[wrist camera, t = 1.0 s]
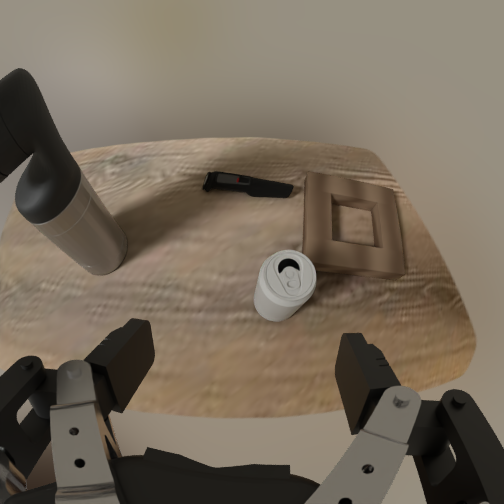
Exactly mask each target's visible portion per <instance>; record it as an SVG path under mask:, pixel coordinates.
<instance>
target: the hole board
mask: <svg viewBox="0 0 504 504" xmlns="http://www.w3.org/2000/svg"><path fill="white" fill-rule="evenodd" d="M331 204H335V205H341V206H346V207H352V208H357V209H362V210H367V211H371V214H372V223H373V233H374V245H375V247H371V246H365V245H358V244H352V243H345V242H339V241H332V213H331ZM302 254H304V255H305V256H306V257H308V258H309V259H310V261H311V262H312V264H313V265H314V268H315V271H323V272H331V273H339V274H348V275H356V276H364V277H373V278H381V279H389V280H397V279H399V278H400V277H402V276H403V275H405V267H404V257H403V248H402V240H401V233H400V226H399V220H398V213H397V208H396V202H395V197H394V192H393V189H390V188H386V187H382V186H377V185H373V184H369V183H364V182H360V181H355V180H351V179H346V178H341V177H336V176H331V175H325V174H320V173H314V172H309V171H308V173H307V176H306V179H305V182H304V222H303V247H302Z"/></svg>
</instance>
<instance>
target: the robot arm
mask: <svg viewBox="0 0 504 504" xmlns="http://www.w3.org/2000/svg"><path fill="white" fill-rule="evenodd" d="M32 154H33V156H32V158H31V160H30V162H29V164H28V166H27V167H26V169H25V171H24V172H23V174H22V176H21V178H20V180H19V182H18V185H17V189H16V193H15V202H16V206H17V208H18V211H19V212H20V213H21V214H22V215H23V216H24V217H25V218H26V219H27V220H28V221H29V222H30V223H31V224H32V225H33V226H35V227H36V228H37V229H38V230H39V231H40V232H41V233H42V234H44V235H45V236H46V237H47V238H48V239H49V240H50V241H51V242H53V243H54V244H55V245H56V246H57V247H59V248H60V249H61V250H62V251H63V252H64V253H66V254H67V255H68V256H69V257H71V258H72V259H73V260H74V261H76V262H77V263H78V264H79V265H80V266H82V267H83V268H84V269H86V270H87V271H88V272H90V273H91V274H94V275H105V274H108V273H110V272H112V271H114V270H115V269H116V268H117V267H118V266H119V265H120V264H121V263H122V261H123V259H124V257H125V255H126V251H127V239H126V236H125V234H124V232H123V231H122V230H121V228H120V227H119V225H118V224H117V223H116V221H115V220H114V218H113V217H112V215H111V214H110V213H109V211H108V210H107V208H106V207H105V205H104V204H103V203H102V201H101V200H100V198H99V197H98V195H97V194H96V192H95V191H94V189H93V188H92V186H91V185H90V183H89V181H88V180H87V179H86V177H85V175H84V174H83V172H82V171H81V169H80V167H79V166H78V164H77V163H76V161H75V160H74V158H73V157H72V155H71V154H70V152H69V151H68V149H67V147H66V145H65V144H64V142H63V140H62V138H61V137H60V135H59V133H58V130H57V128H56V126H55V124H54V122H53V119H52V117H51V115H50V113H49V110H48V108H47V106H46V103H45V101H44V99H43V96H42V94H41V92H40V90H39V87H38V86H37V84H36V82H35V80H34V78H33V77H32V76H31V74H30V73H29V72H27V71H26V70H25V69H21V68H18V69H16V70H14V71H12V72H10V73H9V74H8V75H6V76H5V77H4V78H2V79H1V80H0V183H1V182H2V181H3V180H4V179H5V178H6V177H8V175H9V174H11V173H12V172H13V171H14V170H15V169H16V168H17V167H18V166H19V165H20V164H21V163H22V162H24V161H25V160H26V159H27V158H28V157H29V156H30V155H32ZM154 357H155V350H154V344H153V338H152V331H151V325H150V322H149V321H147V320H141V319H134V318H132V319H130V320H129V321H128V322H127V323H126V324H125V325H124V326H123V327H120V328H118V329H116V330H114V331H112V332H111V333H110V334H109V335H108V336H107V337H106V338H105V340H103V341H102V342H101V343H100V345H98V346H97V347H96V348H95V349H94V350H93V351H92V352H91V353H90V354H89V355H88V356H87V357H86V358H85V359H84V360H71V361H67V362H65V363H63V364H62V365H61V366H60V367H59V368H58V370H55V369H45V368H44V366H43V363H42V361H41V359H40V358H39V357H37V356H25V357H23V358H21V359H19V360H18V361H16V362H15V363H14V364H13V365H12V366H11V367H10V368H9V369H8V370H7V371H6V372H5V373H4V374H3V375H1V376H0V504H381V503H382V501H383V499H384V497H385V495H386V494H387V492H388V490H389V488H390V486H391V484H392V482H393V480H394V478H395V476H396V474H397V472H398V470H399V468H400V465H401V463H402V461H403V459H404V457H405V455H412V456H413V458H414V462H415V465H416V468H417V471H418V474H419V478H420V481H421V484H422V488H423V491H424V495H425V498H426V502H427V504H504V449H503V447H502V445H501V443H500V441H499V440H498V438H497V436H496V435H495V433H494V431H493V430H492V428H491V426H490V425H489V423H488V422H487V420H486V418H485V417H484V415H483V413H482V412H481V411H480V409H479V407H478V406H477V404H476V403H475V401H474V400H473V398H472V397H471V396H470V395H469V394H468V393H466V392H464V391H462V390H456V389H453V390H448V391H446V392H445V393H444V394H443V396H442V398H441V400H440V401H429V400H428V401H427V400H421V398H420V396H419V394H418V393H417V392H416V391H414V390H413V389H411V388H409V387H405V386H401V384H400V382H399V381H398V379H397V377H396V375H395V374H394V372H393V370H392V368H391V367H390V366H389V363H388V362H387V360H385V357H384V355H383V353H382V351H381V350H380V349H378V348H377V347H376V346H374V345H373V344H367V342H366V340H365V338H364V337H363V335H362V333H343V335H342V337H341V341H340V346H339V351H338V355H337V360H336V365H335V377H336V381H337V385H338V388H339V391H340V395H341V398H342V402H343V405H344V409H345V413H346V416H347V420H348V424H349V427H350V431H351V435H354V434H358V435H357V436H356V438H355V439H354V441H353V442H352V444H351V445H350V447H349V448H348V450H347V451H346V452H345V454H344V456H343V457H342V458H341V459H340V461H339V462H338V463H337V465H336V466H335V467H334V469H333V470H332V471H331V473H330V474H329V475H328V476H327V478H326V479H325V480H324V481H323V483H322V484H321V485H320V484H318V483H316V482H314V481H312V480H310V479H307V478H304V477H301V476H297V475H293V474H290V465H260V464H259V465H258V464H251V465H243V466H233V467H221V468H214V467H210V466H207V465H205V464H202V463H199V462H197V461H194V460H191V459H189V458H187V457H184V456H182V455H179V454H174V453H170V452H165V451H161V450H157V449H153V448H149V447H147V449H146V451H145V454H144V455H132V456H124V457H123V456H122V454H121V451H120V449H119V445H118V442H117V439H116V437H115V433H114V429H113V426H112V422H111V419H110V417H109V413H110V412H111V410H113V411H116V412H119V413H123V411H124V410H125V408H126V406H127V405H128V403H129V402H130V400H131V398H132V397H133V395H134V393H135V392H136V390H137V389H138V387H139V385H140V384H141V382H142V380H143V379H144V377H145V376H146V374H147V372H148V371H149V369H150V368H151V366H152V364H153V362H154ZM27 399H28V400H29V401H30V403H31V405H32V407H33V408H32V410H31V411H30V412H29V413H28V415H27V416H26V417H25V418H24V420H23V421H22V422H21V423H20V425H19V423H18V421H17V411H18V410H19V409H20V407H21V406H22V405H23V404H24V403H25V401H26V400H27ZM50 441H51V442H52V452H53V462H54V469H55V475H56V482H54V483H51V484H48V485H45V486H41V487H38V488H34V489H31V490H27V489H26V479H27V478H28V476H29V475H30V473H31V471H32V470H33V468H34V466H35V465H36V463H37V461H38V460H39V458H40V457H41V455H42V453H43V452H44V450H45V449H46V447H47V446H48V444H49V443H50ZM450 444H451V446H452V448H453V450H454V452H455V455H456V461H455V459H454V456H453V454H452V452H451V450H450V447H449V445H450Z"/></svg>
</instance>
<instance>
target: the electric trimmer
mask: <svg viewBox="0 0 504 504" xmlns="http://www.w3.org/2000/svg"><path fill="white" fill-rule="evenodd" d="M207 183H208V184H207ZM293 187H294V186H293V185H290V184H285V183H280V182H275V181H269V180H264V179H258V178H253V177H249V176H244V175H238V174H232V173H225V172H217V171H215V172H208V173H207V175H206V178H205V182H204V185H203V188H202V189H203V190H205V191H209V190H210V189H221V190H230V191H239V192H246V193H247V194H248V195H250V196H253V197H277V198H287V197H288V196H289V195H290V194H291V192H292V190H293Z"/></svg>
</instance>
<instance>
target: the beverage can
mask: <svg viewBox="0 0 504 504" xmlns="http://www.w3.org/2000/svg"><path fill="white" fill-rule="evenodd" d="M315 287H316V271H315V268H314V265H313V264H312V262H311V261H310V259H309V258H308V257H306V256H305V255H304V254H302V253H300V252H297V251H294V250H283V251H279V252H277V253H275V254H273V255H271V256H270V257H269V258H268V259H266V261H265V262H264V263H263V265H262V267H261V269H260V273H259V277H258V281H257V286H256V290H255V294H254V304H255V307H256V309H257V311H258V312H259V314H260V315H261V316H263V317H264V318H266V319H268V320H270V321H283V320H285V319H287V318H289V317H290V316H292V315H293V314H294V313H295V312H296V311H297V310H298V309H299V308H300V307H301V306H302V305H303V304H304V303H305V302H306V301H307V300H308V299H309V298H310V297H311V296H312V294H313V292H314V290H315Z"/></svg>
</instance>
